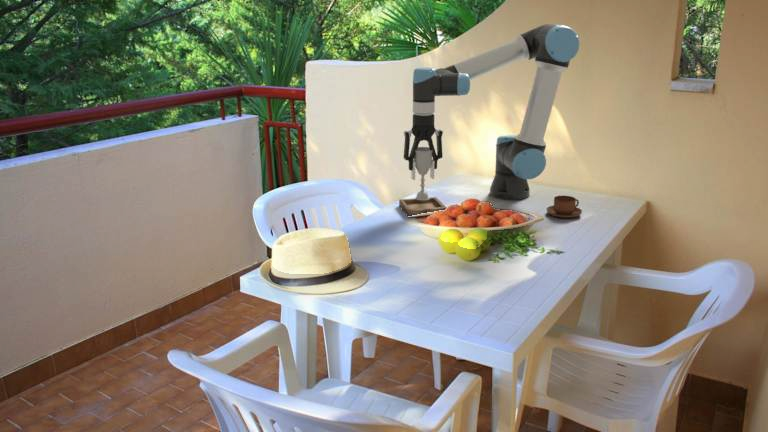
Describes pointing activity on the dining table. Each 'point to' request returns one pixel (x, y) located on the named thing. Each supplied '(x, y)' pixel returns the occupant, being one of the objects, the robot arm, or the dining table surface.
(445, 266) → the dining table surface
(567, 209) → the cup and saucer
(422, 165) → the chalice
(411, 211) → the tray
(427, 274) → the dining table surface
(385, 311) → the dining table surface
